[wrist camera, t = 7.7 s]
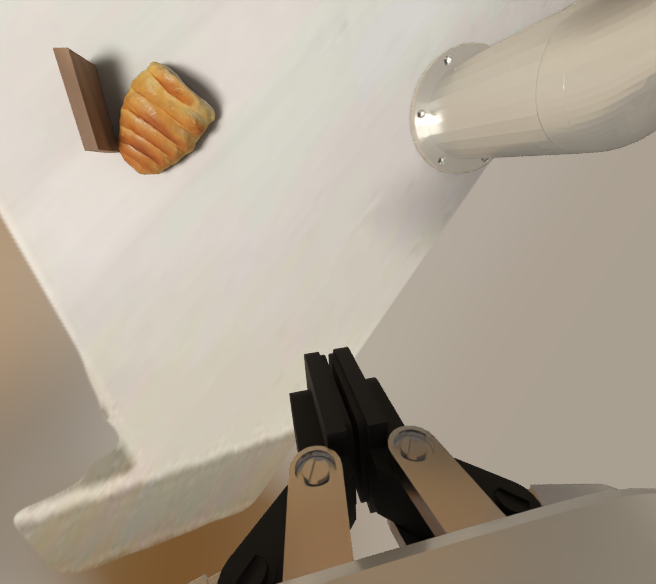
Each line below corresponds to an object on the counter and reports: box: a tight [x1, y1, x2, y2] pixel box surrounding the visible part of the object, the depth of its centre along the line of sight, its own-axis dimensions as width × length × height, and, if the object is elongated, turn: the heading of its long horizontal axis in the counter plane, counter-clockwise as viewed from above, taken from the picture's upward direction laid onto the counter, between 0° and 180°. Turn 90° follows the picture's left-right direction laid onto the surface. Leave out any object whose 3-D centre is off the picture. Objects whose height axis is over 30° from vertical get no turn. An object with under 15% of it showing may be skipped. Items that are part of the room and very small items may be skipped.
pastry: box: [117, 62, 215, 174], centre depth 29 cm, size 9×7×4 cm
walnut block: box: [53, 48, 119, 153], centre depth 27 cm, size 1×7×4 cm, turn 4°
